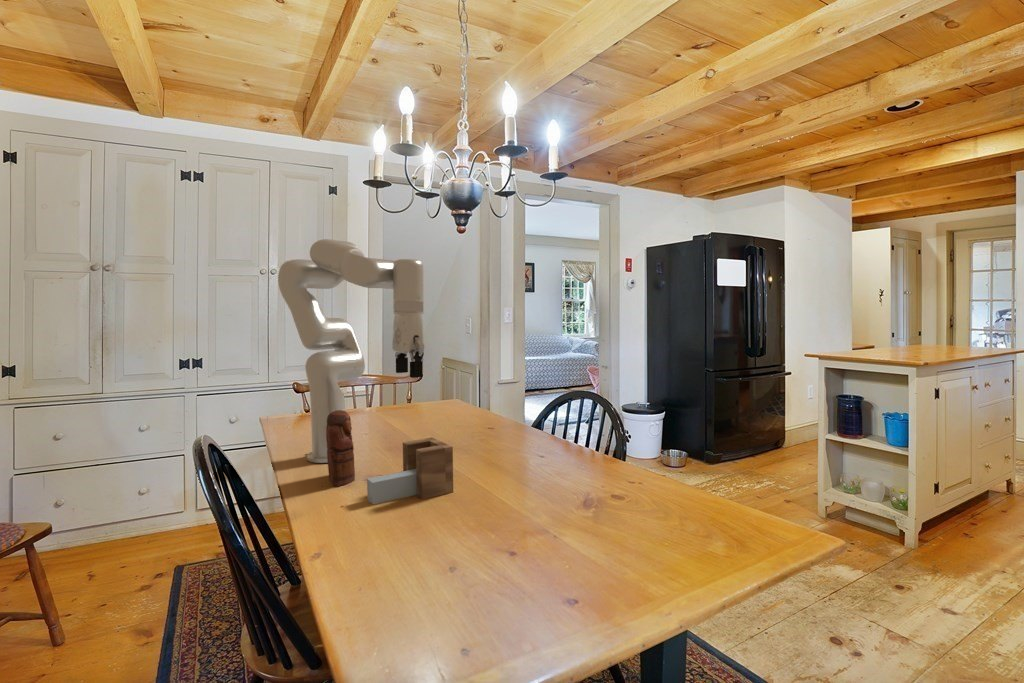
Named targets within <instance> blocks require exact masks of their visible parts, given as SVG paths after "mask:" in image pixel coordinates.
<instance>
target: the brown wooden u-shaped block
mask: <svg viewBox="0 0 1024 683" xmlns="http://www.w3.org/2000/svg"><path fill="white" fill-rule="evenodd" d="M453 453H454V450H453V446H451V445H450V444H447V443H445V442H443V441H441V440H438V439H437V438H434V437H426V438H421V439H414V440H407V441H403V442H402V466H403V468H402V471H407V470H412V469H417V495H416V496H417V497H418V498H420V499H421V500H426V499H430V498H434V497H439V496H442V495H446V494H451V493H454V456H453V455H454V454H453Z"/></svg>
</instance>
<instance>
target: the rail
mask: <svg viewBox="0 0 1024 683" xmlns="http://www.w3.org/2000/svg"><path fill="white" fill-rule="evenodd" d="M366 491H367V494H366V495H367V501H368V502H369V503H371V504H372V505H378V504H381V503H387V502H391V501H394V500H399V499H400V500H401V499H404V498H409V497H412V496H417V469H412V470H407V471H403V470H402V471H399V472H393V473H388V474H383V475H379V476H374V477H369V478H366Z"/></svg>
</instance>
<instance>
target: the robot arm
mask: <svg viewBox="0 0 1024 683" xmlns="http://www.w3.org/2000/svg"><path fill="white" fill-rule="evenodd" d="M309 256H310V259H301V258H300V259H297V258H296V259H289V260H286V261H285V262H284V263H282V264H281V266H280V267H279V270H278V274H277V275H278V276H277V283H278V288H279V291H280V294H281V296H282V298H283V300H284V302H285V303H286V305H287V306H288V308H289V310H290V312H291V315H292V319H293V322H294V325H295V327H296V329H297V333H298V336H299V340H300V342H301V344H302V346H303V347H304V348H305V349H307V350H309V351H310V350H311V351H319V352H315V353H313V354H311V355H310V356H309V357H308V358H307V359H306V362H305V374H306V379H307V381H308V387H309V398H310V402H309V403H310V418H311V420H310V422H311V424H310V425H311V452H309V453H308V454H307V455H306V460H307V461H308V462H310V463H315V464H328V460H327V439H326V426H327V417H328V415H329V414H330V413H331V412H333V411H336V410H343V411H346V400H345V395H344V392H343V390H342V389H341V387H340V385H339V384H338V383H340V382H346V381H347V382H348V381H354V380H356V379H359V378H361V377H362V376H363V374H364V373H365V369H366V364H365V358H364V355H363V352H362V350H361V346H360V345H359V344H360V343H359V341H358V339H357V336H356V334H355V331H354V329H353V326H352V325H351V324H350V323H349V322H348V321H347V320H345V319H344V318H341V317H340V318H339V317H327V316H325V314H324V312H323V309H322V305H321V303H320V302H319V301H318V300H317V298H316V297H315V296H314V295H313V294H312V293H310V292H309V291H308V290H307V289H318V290H319V289H321V290H323V289H325V290H327V289H328V290H329V289H334V288H336V287H337V286H339V285H340V284H342V283H343V282H344V281H346V282H349V283H351V284H354V285H356V286H359V287H363V288H367V289H386V290H387V289H389V290H393V292H392V294H393V295H392V296H393V297H392V298H393V300H392V301H393V315H394V318H393V326H392V350H393V351H394V352H395V355H394V356H395V373H396V374H401V373H402V374H404V373H408V372H409V377H410V378H411V379H416V378H422V377H423V376H424V374H423V373H424V371H423V370H424V369H423V368H424V365H423V364H424V363H423V361H424V355H425V353H424V351H425V344H424V327H423V326H424V325H423V317H422V315H424V265H423V264H424V263H423V262H422V261H421V260H419V259H414V258H403V259H402V258H400V259H397V260H392V259H385V258H375V257H374V258H371V257H367V256H365V254H364V253H363V252H362V250H361V249H360V248H359V247H358V246H357V245H356V244H354V243H353V242H350V241H344V240H336V239H329V238H326V239H320V240H317V241H315V242H313V243H312V245H311V247H310V249H309ZM321 350H322V351H321ZM324 350H325V351H324ZM408 354H409V357H410V361H409V357H407V356H408Z"/></svg>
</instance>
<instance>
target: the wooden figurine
mask: <svg viewBox="0 0 1024 683" xmlns="http://www.w3.org/2000/svg"><path fill="white" fill-rule="evenodd" d="M351 421H352V420H351V416H350V414H349V412H347V411H346V410H345V411H343V410H336V411H333V412H331V413H330V414H329V415H328V417H327V426H326V439H327V460H328V463H327V468H328V469H327V470H328V476H329V479H330V482H331V485H333V486H334V487H341V486H344V485H349V484H350V483H353V481H355V479H356V471H355V468H356V467H355V454H354V451H355V450H354V449H355V448H354V441H353V435H352V422H351Z"/></svg>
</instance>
